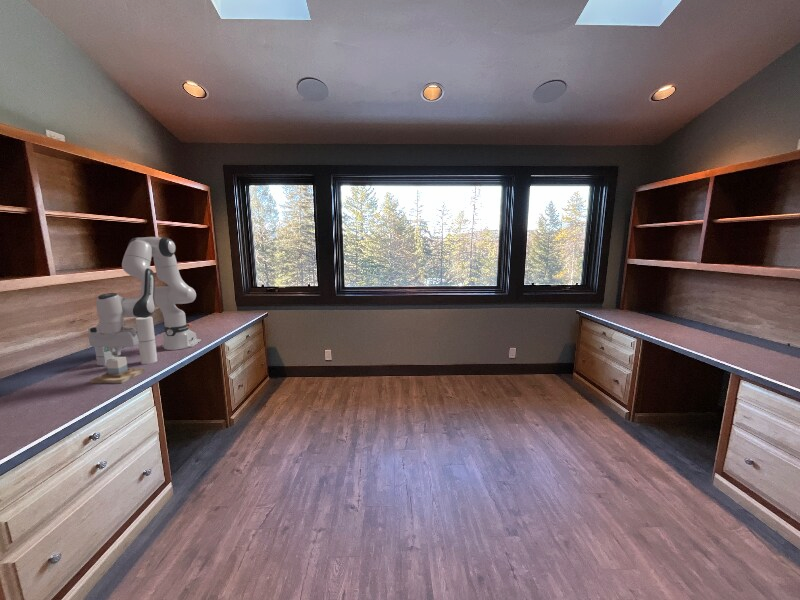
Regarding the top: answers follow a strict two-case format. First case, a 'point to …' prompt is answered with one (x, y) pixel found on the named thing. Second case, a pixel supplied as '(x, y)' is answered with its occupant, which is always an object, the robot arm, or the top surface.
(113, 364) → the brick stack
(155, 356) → the cylindrical container
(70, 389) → the top surface
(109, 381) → the base plate
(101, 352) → the syrup box
